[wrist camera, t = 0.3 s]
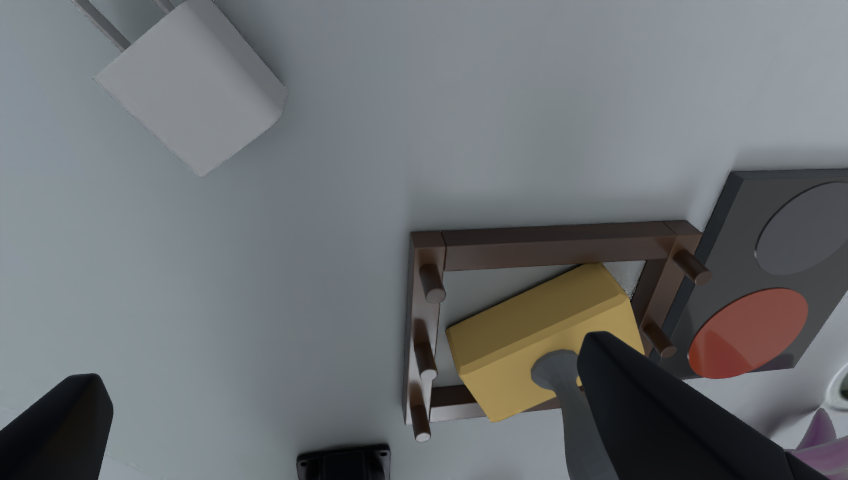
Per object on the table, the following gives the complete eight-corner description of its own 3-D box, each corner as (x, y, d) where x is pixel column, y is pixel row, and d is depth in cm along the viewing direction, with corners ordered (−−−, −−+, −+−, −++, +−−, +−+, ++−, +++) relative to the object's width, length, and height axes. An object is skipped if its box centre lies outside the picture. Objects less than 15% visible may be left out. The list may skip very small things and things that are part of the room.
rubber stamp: (477, 379, 32) (544, 582, 22) (442, 326, 29) (502, 536, 19) (616, 316, 31) (751, 500, 21) (596, 254, 28) (744, 437, 18)
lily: (684, 470, 47) (788, 562, 41) (687, 472, 37) (825, 592, 31) (765, 377, 47) (880, 456, 41) (790, 354, 37) (944, 453, 31)
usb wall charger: (216, 141, 21) (195, 183, 17) (64, -10, 17) (0, 7, 14) (288, 86, 20) (281, 119, 17) (146, -84, 16) (100, -85, 13)
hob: (782, 360, 37) (793, 370, 36) (640, 374, 35) (649, 386, 34) (910, 166, 28) (929, 175, 27) (730, 171, 26) (745, 180, 25)
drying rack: (618, 383, 35) (644, 425, 32) (401, 406, 32) (409, 454, 30) (686, 219, 27) (728, 254, 25) (410, 231, 25) (420, 272, 22)
